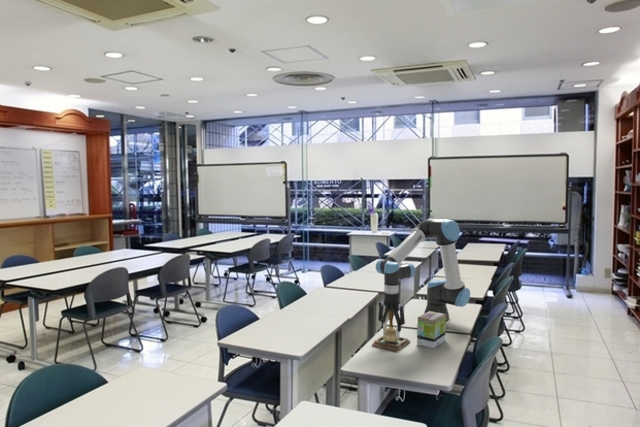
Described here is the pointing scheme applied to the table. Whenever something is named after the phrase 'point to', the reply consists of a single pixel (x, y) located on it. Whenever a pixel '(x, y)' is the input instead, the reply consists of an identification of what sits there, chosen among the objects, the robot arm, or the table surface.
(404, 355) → the table surface
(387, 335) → the hand bell
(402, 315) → the robot arm
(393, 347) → the stand
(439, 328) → the tea box
